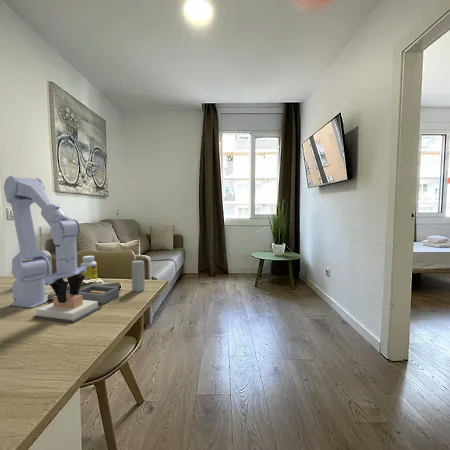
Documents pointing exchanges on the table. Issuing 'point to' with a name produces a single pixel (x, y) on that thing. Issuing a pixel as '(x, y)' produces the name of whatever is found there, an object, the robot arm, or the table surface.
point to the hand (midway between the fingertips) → (68, 299)
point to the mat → (66, 319)
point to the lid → (67, 308)
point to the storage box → (99, 293)
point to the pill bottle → (89, 267)
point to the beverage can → (138, 276)
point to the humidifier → (45, 252)
